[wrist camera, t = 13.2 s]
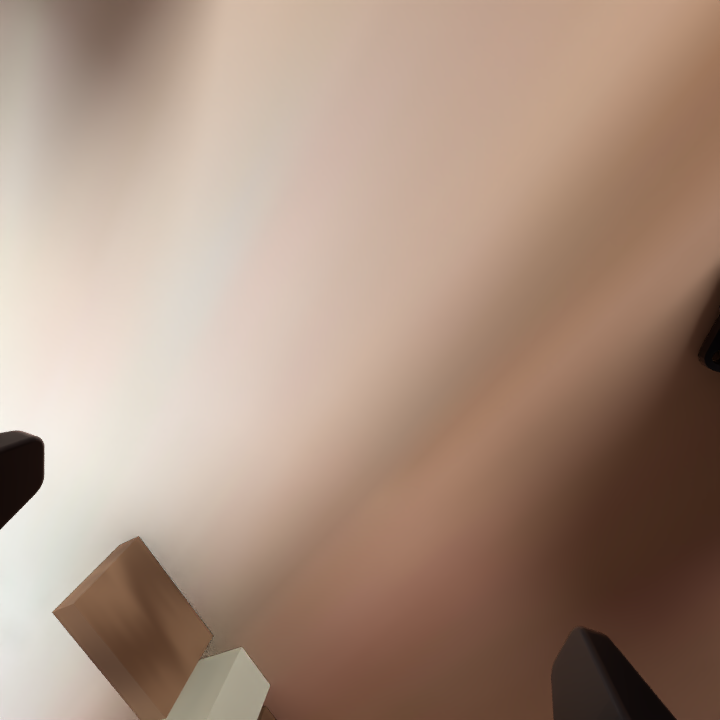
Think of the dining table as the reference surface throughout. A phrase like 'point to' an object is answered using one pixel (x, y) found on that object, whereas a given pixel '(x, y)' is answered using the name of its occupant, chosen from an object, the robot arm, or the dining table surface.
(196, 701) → the sage plank
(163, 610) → the walnut slotted plate
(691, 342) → the dining table surface
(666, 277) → the dining table surface
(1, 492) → the robot arm
